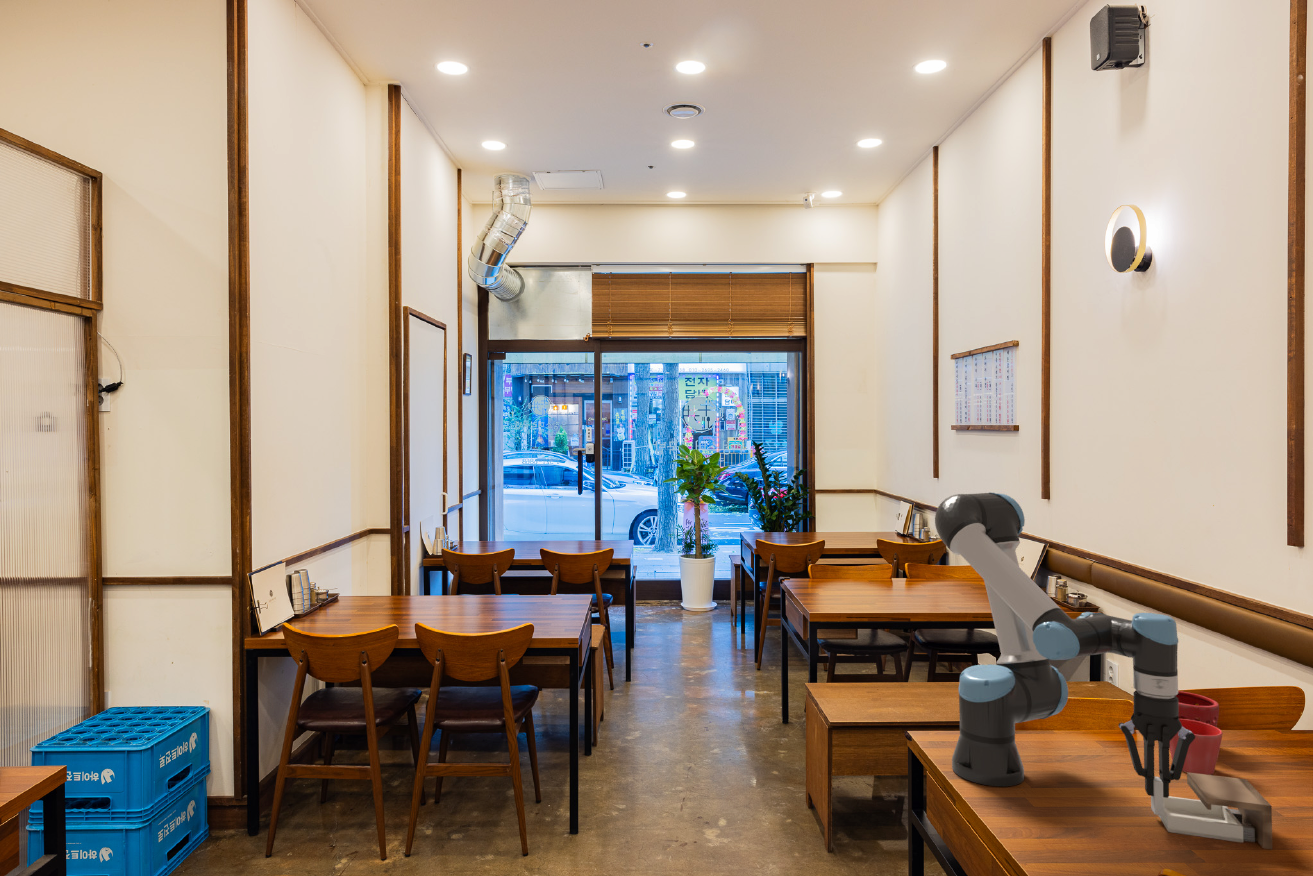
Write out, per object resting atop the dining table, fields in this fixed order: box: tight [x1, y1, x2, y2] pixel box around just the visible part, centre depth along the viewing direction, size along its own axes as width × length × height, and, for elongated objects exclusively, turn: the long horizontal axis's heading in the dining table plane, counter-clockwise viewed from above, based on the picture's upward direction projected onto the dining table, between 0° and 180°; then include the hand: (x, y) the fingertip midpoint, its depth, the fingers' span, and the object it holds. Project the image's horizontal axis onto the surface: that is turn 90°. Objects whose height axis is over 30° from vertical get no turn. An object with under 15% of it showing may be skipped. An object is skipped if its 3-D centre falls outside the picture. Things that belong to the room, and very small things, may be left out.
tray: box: [1157, 795, 1244, 844], centre depth 149 cm, size 12×10×3 cm
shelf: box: [1186, 772, 1273, 850], centre depth 147 cm, size 10×12×8 cm
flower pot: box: [1169, 719, 1223, 775], centre depth 175 cm, size 11×11×10 cm
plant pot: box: [1176, 690, 1220, 728], centre depth 189 cm, size 13×13×12 cm
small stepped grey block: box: [1228, 808, 1256, 843], centre depth 147 cm, size 2×8×2 cm, turn 160°
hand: (1157, 812), depth 151 cm, fingers closed
